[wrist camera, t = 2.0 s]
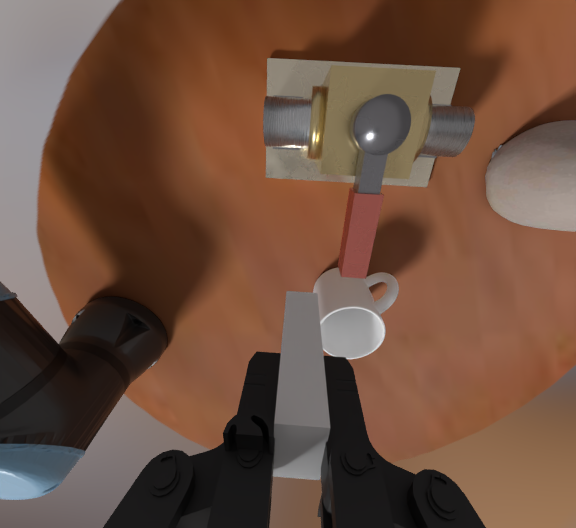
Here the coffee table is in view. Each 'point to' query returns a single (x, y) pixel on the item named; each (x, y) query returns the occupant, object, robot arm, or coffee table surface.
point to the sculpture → (536, 177)
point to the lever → (370, 176)
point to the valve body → (340, 108)
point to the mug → (352, 312)
